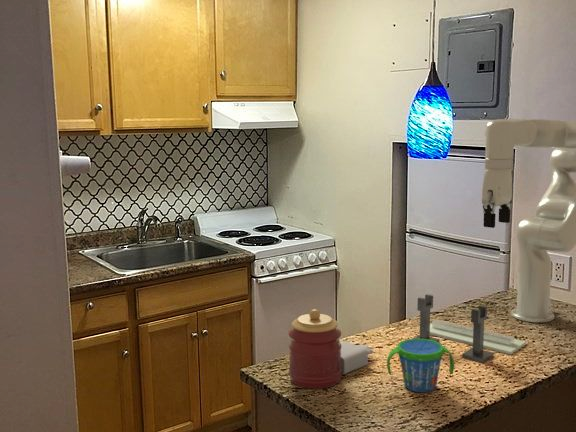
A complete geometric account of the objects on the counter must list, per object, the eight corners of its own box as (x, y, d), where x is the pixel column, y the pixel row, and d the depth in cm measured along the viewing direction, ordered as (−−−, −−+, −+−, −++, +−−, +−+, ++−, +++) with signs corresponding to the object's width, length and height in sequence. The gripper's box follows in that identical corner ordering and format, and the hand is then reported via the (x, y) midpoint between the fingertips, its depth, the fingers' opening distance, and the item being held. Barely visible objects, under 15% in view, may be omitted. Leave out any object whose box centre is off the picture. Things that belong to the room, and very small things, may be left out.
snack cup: (387, 395, 146) (388, 353, 144) (385, 376, 156) (386, 337, 154) (456, 397, 144) (458, 355, 142) (450, 378, 154) (451, 338, 153)
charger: (383, 360, 167) (344, 376, 157) (357, 350, 174) (318, 365, 164) (383, 343, 166) (344, 358, 156) (357, 334, 173) (318, 348, 163)
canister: (352, 381, 154) (352, 311, 151) (308, 394, 147) (307, 321, 144) (321, 364, 165) (320, 298, 162) (279, 375, 158) (277, 307, 155)
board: (436, 323, 195) (436, 320, 194) (525, 344, 176) (525, 341, 176) (419, 331, 187) (419, 329, 187) (510, 354, 169) (510, 351, 168)
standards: (420, 337, 182) (421, 292, 180) (493, 356, 168) (495, 307, 165) (409, 343, 178) (410, 297, 176) (483, 363, 163) (485, 312, 161)
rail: (436, 325, 190) (436, 319, 190) (514, 343, 174) (514, 336, 174) (432, 327, 188) (432, 321, 188) (510, 346, 173) (510, 339, 172)
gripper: (499, 162, 186) (497, 219, 189) (472, 166, 174) (470, 227, 176) (524, 163, 181) (522, 222, 184) (498, 167, 169) (496, 230, 171)
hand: (496, 224), depth 180 cm, fingers open, 9 cm apart
